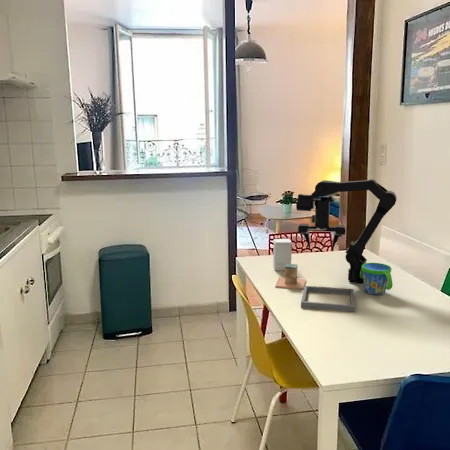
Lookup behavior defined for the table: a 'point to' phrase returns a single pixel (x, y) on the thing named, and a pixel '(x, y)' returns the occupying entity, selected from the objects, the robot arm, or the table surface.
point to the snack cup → (376, 278)
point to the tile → (281, 284)
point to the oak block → (291, 274)
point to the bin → (328, 305)
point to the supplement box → (281, 253)
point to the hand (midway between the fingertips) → (320, 249)
